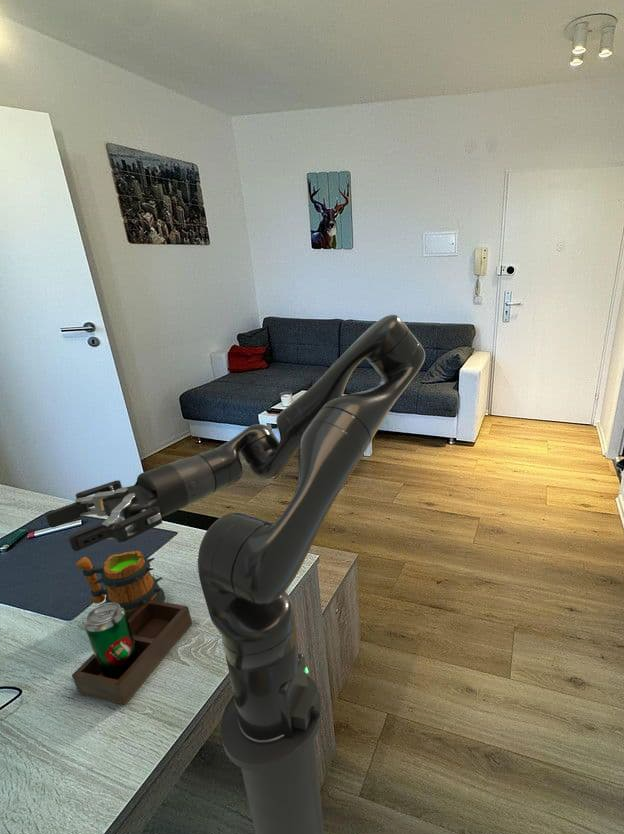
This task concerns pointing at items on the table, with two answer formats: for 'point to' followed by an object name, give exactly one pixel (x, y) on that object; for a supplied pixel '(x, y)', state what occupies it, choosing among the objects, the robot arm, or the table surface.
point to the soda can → (111, 639)
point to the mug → (123, 581)
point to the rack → (153, 638)
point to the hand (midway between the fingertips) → (58, 532)
